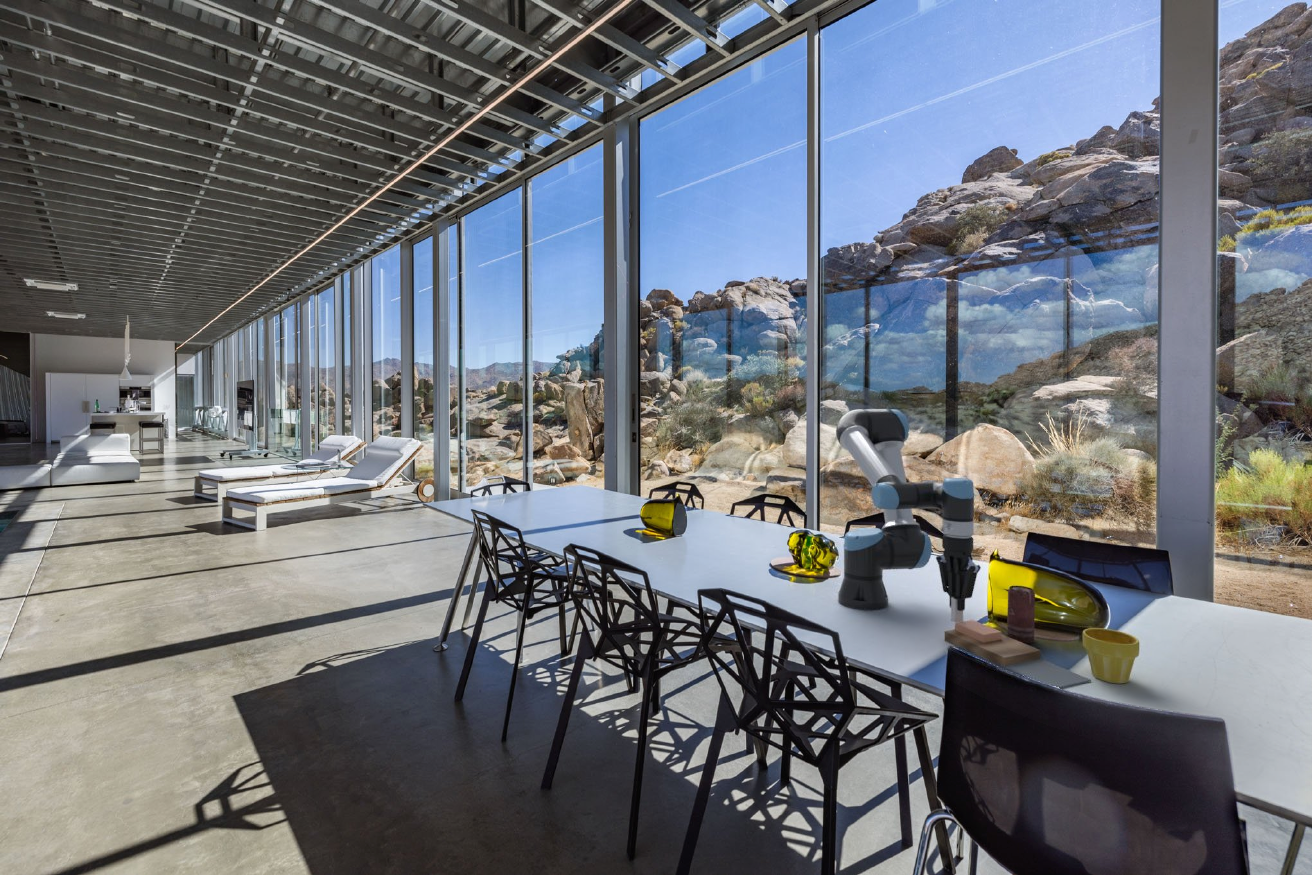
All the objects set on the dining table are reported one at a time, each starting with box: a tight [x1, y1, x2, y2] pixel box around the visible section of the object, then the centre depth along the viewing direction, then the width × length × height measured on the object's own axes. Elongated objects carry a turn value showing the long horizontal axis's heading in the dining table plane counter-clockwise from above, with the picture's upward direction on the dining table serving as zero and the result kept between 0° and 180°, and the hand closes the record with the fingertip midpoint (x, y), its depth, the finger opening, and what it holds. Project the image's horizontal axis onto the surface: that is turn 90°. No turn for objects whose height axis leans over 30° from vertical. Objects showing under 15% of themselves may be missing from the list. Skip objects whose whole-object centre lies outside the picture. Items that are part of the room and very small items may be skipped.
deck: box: [944, 628, 1042, 669], centre depth 151 cm, size 18×12×2 cm, turn 19°
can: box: [1006, 585, 1036, 645], centre depth 157 cm, size 6×6×14 cm
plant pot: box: [1082, 627, 1140, 685], centre depth 135 cm, size 10×10×10 cm
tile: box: [954, 619, 1002, 643], centre depth 155 cm, size 9×6×2 cm, turn 19°
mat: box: [1004, 658, 1092, 689], centre depth 137 cm, size 12×12×1 cm
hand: (956, 620), depth 161 cm, fingers closed
